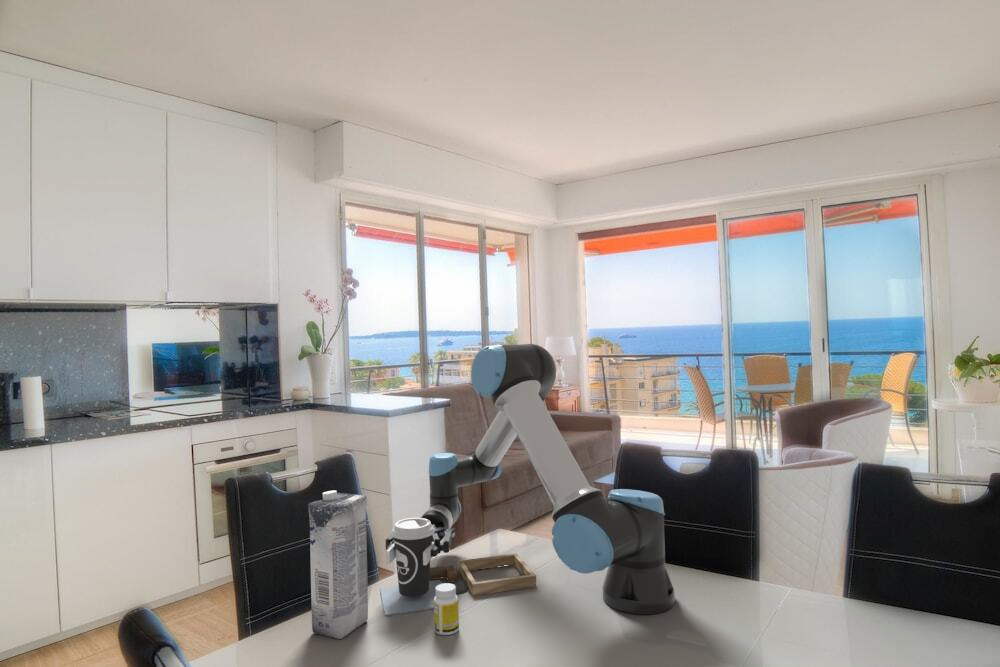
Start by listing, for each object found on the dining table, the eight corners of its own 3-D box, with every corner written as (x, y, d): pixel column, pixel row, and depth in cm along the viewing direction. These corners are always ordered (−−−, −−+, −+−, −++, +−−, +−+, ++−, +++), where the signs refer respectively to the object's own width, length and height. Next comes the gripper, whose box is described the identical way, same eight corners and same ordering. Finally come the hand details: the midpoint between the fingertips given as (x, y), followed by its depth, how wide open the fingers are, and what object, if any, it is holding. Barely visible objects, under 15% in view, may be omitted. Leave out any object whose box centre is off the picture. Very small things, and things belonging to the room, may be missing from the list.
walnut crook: (457, 581, 141) (456, 572, 141) (423, 585, 139) (422, 576, 139) (453, 573, 146) (453, 564, 146) (420, 577, 144) (420, 568, 144)
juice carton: (374, 619, 123) (371, 487, 123) (341, 643, 113) (338, 500, 114) (340, 612, 127) (337, 484, 127) (304, 635, 117) (301, 496, 117)
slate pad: (451, 606, 128) (451, 604, 128) (385, 615, 124) (385, 614, 124) (439, 581, 142) (439, 579, 142) (379, 589, 138) (379, 587, 138)
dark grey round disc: (469, 592, 135) (469, 591, 135) (448, 595, 134) (448, 594, 134) (465, 583, 140) (464, 582, 140) (443, 586, 138) (443, 585, 138)
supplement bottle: (463, 626, 119) (462, 584, 119) (451, 637, 115) (450, 593, 115) (442, 622, 121) (441, 580, 121) (429, 633, 117) (428, 589, 117)
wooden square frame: (536, 586, 137) (536, 575, 137) (472, 595, 133) (472, 584, 133) (516, 563, 152) (516, 553, 152) (458, 571, 147) (458, 560, 148)
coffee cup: (432, 599, 128) (431, 529, 128) (388, 600, 128) (386, 530, 128) (438, 581, 138) (436, 516, 138) (396, 581, 138) (395, 516, 138)
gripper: (474, 540, 149) (452, 577, 127) (396, 538, 152) (361, 573, 130) (473, 510, 149) (452, 542, 127) (395, 508, 152) (360, 539, 130)
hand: (406, 558), depth 128 cm, fingers closed on coffee cup, 7 cm apart
